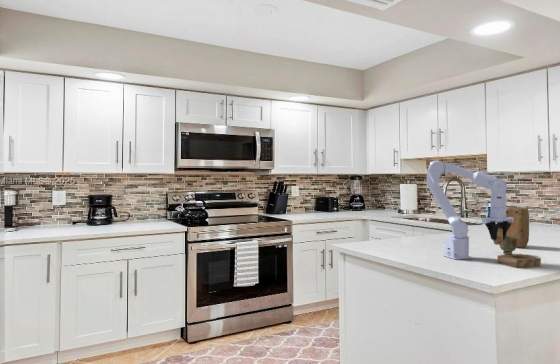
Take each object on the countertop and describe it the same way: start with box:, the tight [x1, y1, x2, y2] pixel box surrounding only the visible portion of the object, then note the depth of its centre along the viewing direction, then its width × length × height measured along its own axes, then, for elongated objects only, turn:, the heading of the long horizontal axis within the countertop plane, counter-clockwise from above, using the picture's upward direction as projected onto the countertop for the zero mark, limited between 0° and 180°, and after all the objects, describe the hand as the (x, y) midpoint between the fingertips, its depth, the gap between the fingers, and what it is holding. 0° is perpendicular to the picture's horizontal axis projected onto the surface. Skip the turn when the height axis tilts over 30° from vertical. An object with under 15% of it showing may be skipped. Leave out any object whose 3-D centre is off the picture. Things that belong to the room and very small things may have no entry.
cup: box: [499, 236, 518, 255], centre depth 172 cm, size 8×7×8 cm
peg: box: [492, 228, 503, 246], centre depth 159 cm, size 4×4×6 cm
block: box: [505, 206, 530, 249], centre depth 191 cm, size 11×8×20 cm
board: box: [497, 253, 542, 269], centre depth 152 cm, size 12×9×3 cm
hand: (497, 239), depth 159 cm, fingers closed on peg, 4 cm apart
